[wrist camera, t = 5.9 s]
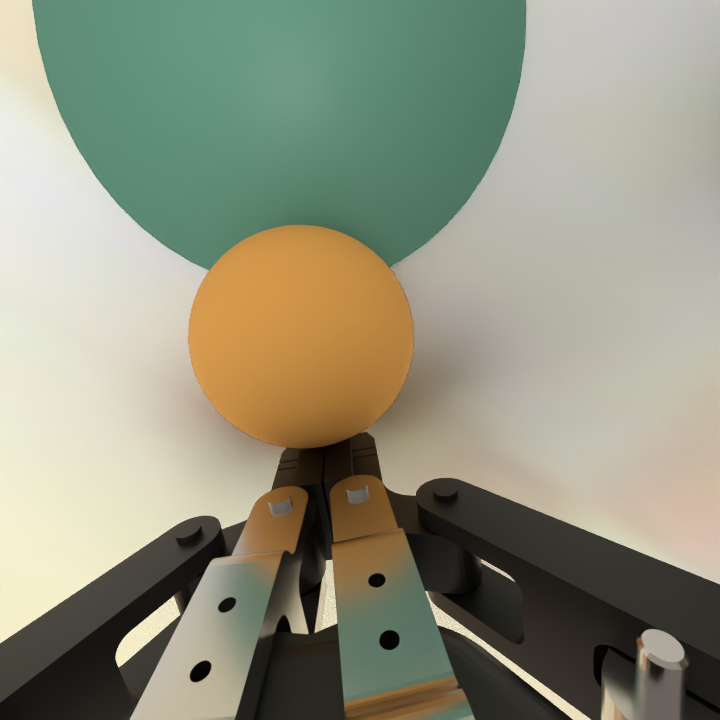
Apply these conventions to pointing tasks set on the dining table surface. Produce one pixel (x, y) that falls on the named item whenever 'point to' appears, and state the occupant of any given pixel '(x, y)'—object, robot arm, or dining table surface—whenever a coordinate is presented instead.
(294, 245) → the ball
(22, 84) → the dining table surface
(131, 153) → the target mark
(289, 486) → the robot arm
